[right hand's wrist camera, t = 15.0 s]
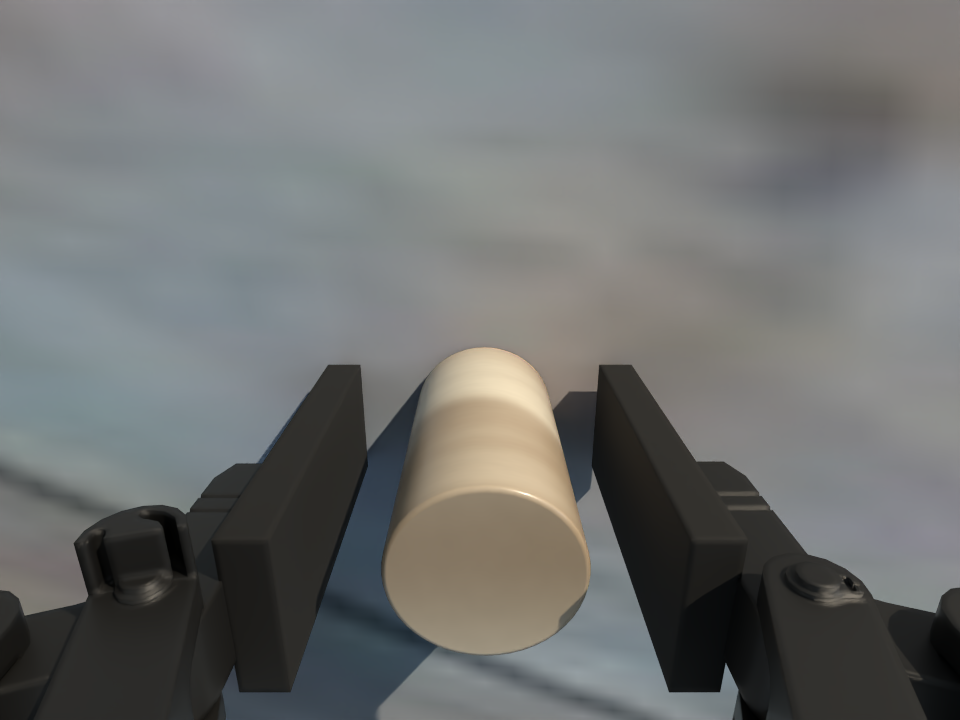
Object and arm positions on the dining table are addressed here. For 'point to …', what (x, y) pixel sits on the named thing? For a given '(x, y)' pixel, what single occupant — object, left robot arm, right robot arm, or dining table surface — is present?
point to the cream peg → (485, 512)
